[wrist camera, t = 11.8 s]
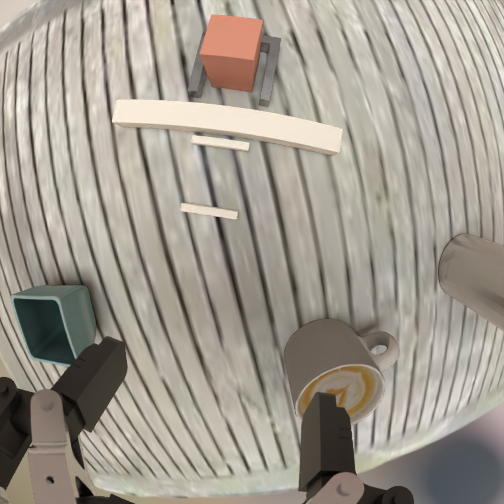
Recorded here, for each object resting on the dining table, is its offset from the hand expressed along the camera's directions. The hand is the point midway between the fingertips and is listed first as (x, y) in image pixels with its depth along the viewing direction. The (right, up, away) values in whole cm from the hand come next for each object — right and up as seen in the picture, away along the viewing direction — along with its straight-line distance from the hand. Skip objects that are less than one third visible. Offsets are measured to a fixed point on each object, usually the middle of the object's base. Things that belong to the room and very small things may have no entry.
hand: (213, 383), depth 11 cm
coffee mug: (+12, -7, +25) cm, 29 cm away
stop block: (0, +25, +17) cm, 30 cm away
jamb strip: (-2, +15, +19) cm, 25 cm away
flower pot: (-22, -2, +23) cm, 32 cm away
